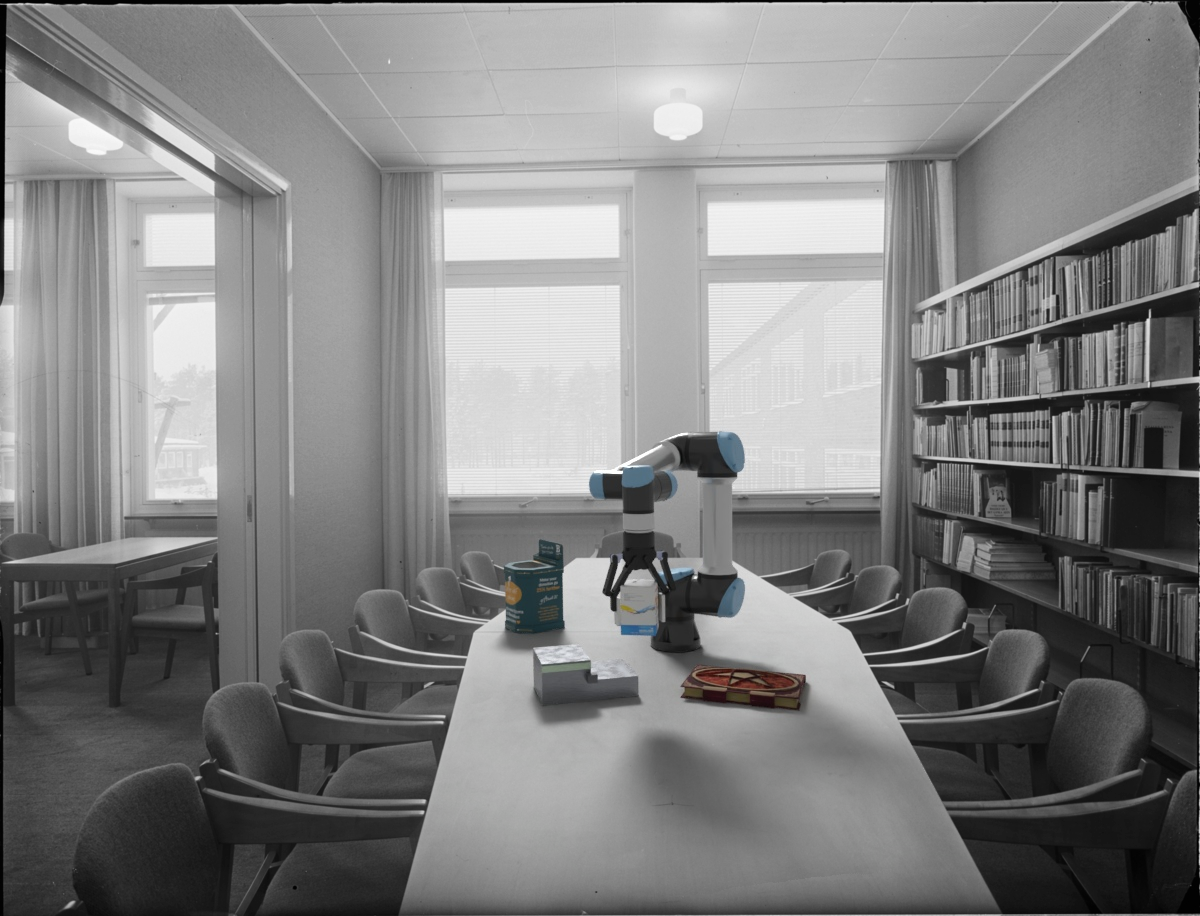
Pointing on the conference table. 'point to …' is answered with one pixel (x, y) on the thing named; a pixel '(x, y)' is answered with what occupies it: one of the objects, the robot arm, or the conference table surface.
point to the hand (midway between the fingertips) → (640, 622)
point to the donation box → (535, 591)
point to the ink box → (639, 607)
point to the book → (744, 687)
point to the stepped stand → (579, 676)
